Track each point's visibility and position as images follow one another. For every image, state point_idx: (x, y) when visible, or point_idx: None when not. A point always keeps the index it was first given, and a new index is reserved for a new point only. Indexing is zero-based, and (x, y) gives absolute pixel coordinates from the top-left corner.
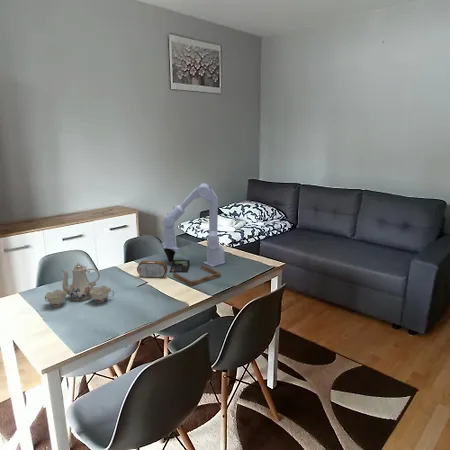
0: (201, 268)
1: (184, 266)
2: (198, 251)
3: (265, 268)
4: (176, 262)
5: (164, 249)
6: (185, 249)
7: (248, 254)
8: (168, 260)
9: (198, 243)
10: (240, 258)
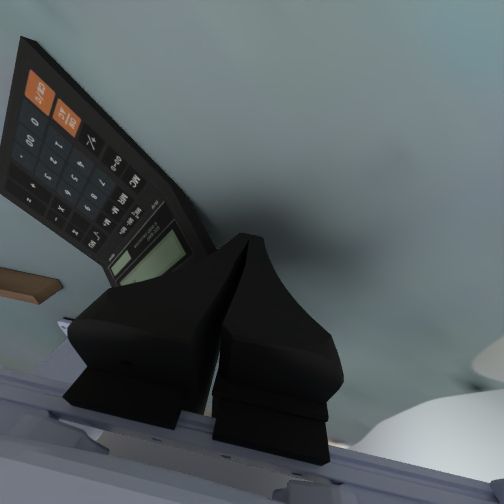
0: (44, 280)
1: (112, 248)
2: None
3: (2, 364)
4: (167, 251)
5: (323, 374)
6: (357, 410)
7: None
8: (255, 239)
9: (349, 446)
10: None
